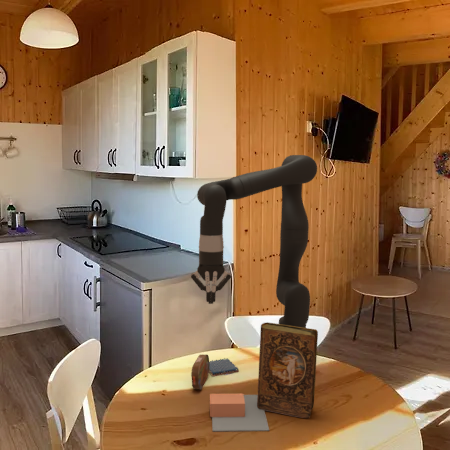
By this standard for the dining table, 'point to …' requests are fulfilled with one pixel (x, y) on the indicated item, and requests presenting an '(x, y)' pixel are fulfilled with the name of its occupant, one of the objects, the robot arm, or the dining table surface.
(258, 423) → the slate pad
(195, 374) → the tin
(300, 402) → the book
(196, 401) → the dining table surface
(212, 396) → the terracotta block
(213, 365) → the woven mat
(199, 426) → the dining table surface
